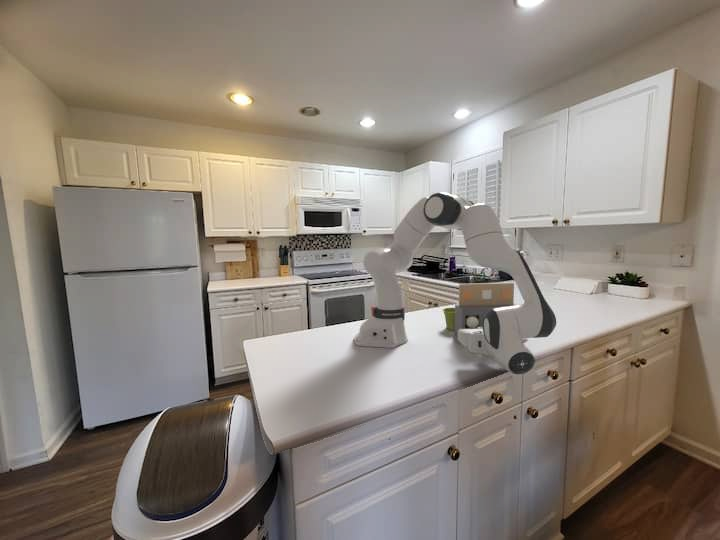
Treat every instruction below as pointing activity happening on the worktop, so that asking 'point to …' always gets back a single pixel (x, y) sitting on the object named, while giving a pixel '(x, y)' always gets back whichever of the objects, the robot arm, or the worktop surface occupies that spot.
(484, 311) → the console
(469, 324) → the left button
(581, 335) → the worktop surface
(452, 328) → the plant pot
